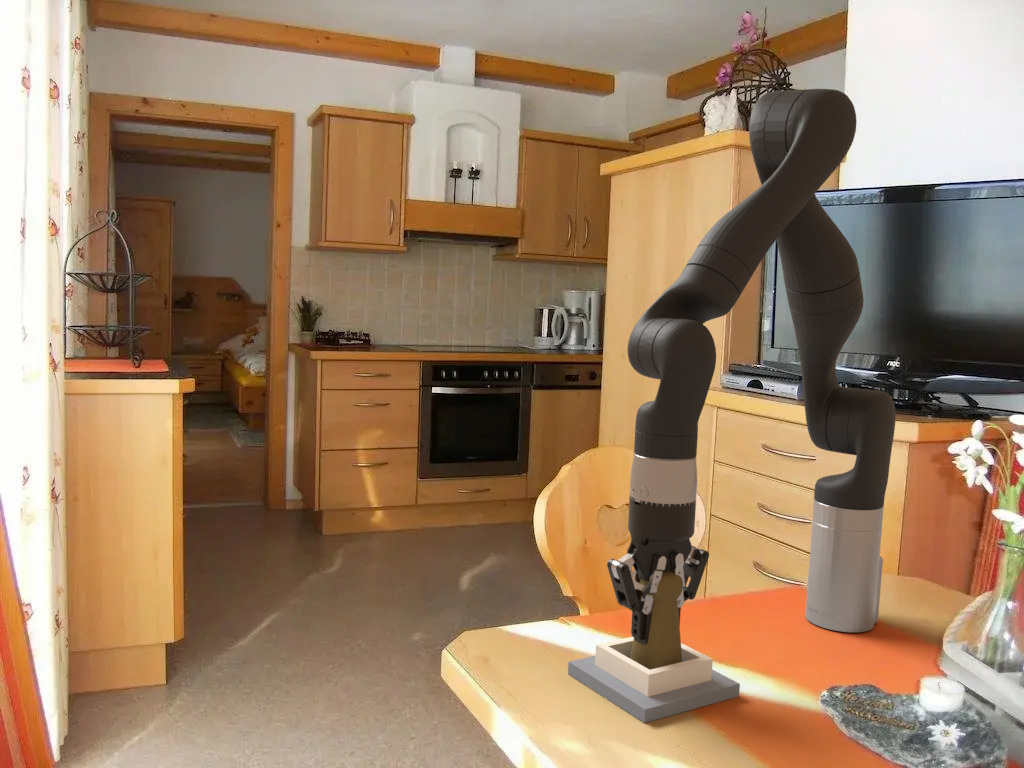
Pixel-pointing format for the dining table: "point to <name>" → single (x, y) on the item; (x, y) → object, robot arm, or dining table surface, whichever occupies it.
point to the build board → (652, 681)
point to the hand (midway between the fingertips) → (655, 638)
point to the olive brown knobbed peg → (662, 626)
